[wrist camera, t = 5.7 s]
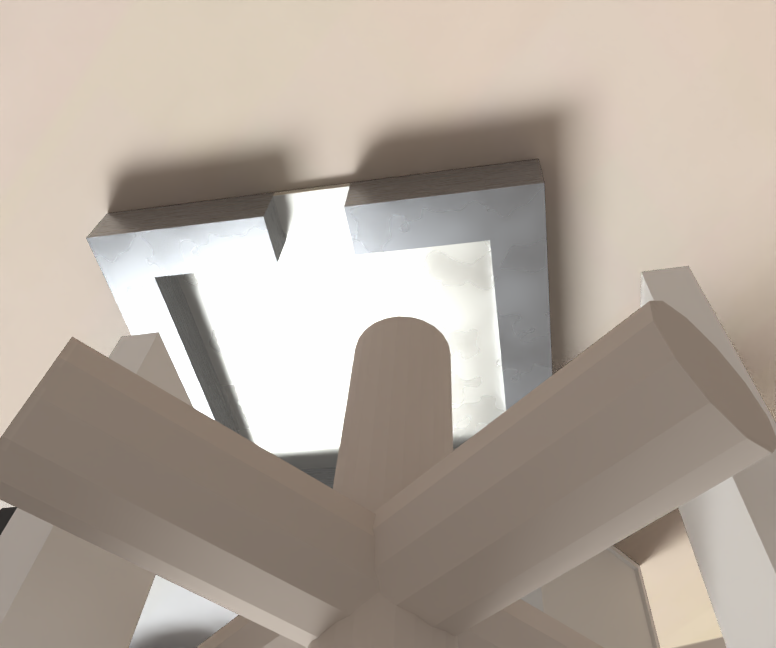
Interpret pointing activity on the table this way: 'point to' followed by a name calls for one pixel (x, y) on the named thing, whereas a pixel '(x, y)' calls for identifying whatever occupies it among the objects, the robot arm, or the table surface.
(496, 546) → the pipe connector
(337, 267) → the square metal tray
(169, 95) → the table surface
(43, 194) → the table surface
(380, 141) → the table surface
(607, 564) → the gravestone
